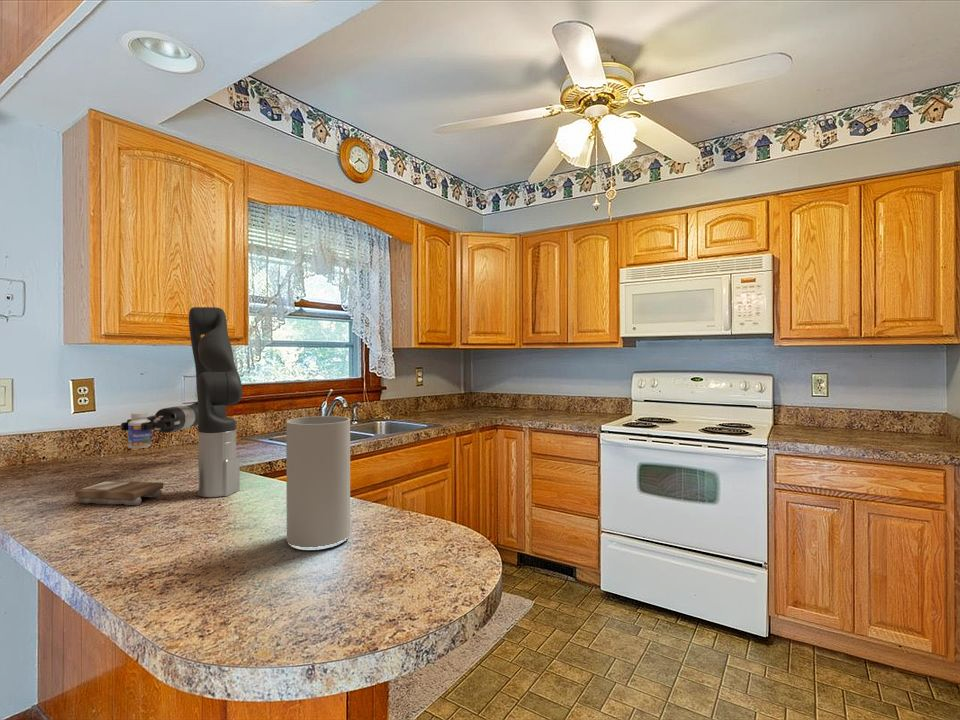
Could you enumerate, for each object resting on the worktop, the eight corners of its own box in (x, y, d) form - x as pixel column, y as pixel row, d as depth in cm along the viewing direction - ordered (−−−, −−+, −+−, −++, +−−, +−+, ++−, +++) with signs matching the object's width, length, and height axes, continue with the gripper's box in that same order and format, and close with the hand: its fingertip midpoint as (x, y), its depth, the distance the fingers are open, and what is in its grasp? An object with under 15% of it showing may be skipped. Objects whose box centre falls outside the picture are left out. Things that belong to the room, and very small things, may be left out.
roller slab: (163, 495, 135) (162, 481, 135) (133, 507, 126) (133, 492, 125) (108, 493, 137) (108, 480, 137) (75, 504, 127) (75, 490, 127)
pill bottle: (132, 449, 139) (131, 414, 139) (125, 447, 142) (124, 412, 142) (154, 446, 143) (154, 412, 143) (147, 444, 147) (146, 411, 146)
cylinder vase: (286, 533, 108) (286, 417, 107) (346, 526, 112) (346, 415, 112) (286, 556, 96) (286, 425, 96) (353, 547, 100) (353, 422, 100)
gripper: (153, 406, 158) (108, 413, 141) (196, 407, 156) (155, 414, 139) (154, 430, 158) (108, 440, 141) (196, 431, 156) (156, 441, 139)
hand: (132, 427), depth 140 cm, fingers closed on pill bottle, 5 cm apart
